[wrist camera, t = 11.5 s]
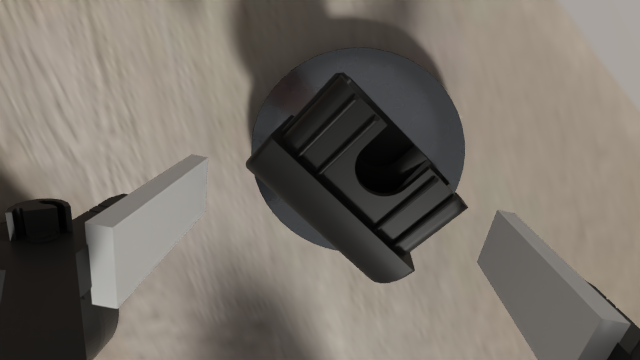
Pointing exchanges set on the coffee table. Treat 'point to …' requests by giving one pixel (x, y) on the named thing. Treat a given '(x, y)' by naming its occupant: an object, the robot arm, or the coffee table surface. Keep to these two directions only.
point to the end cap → (357, 179)
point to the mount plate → (388, 93)
